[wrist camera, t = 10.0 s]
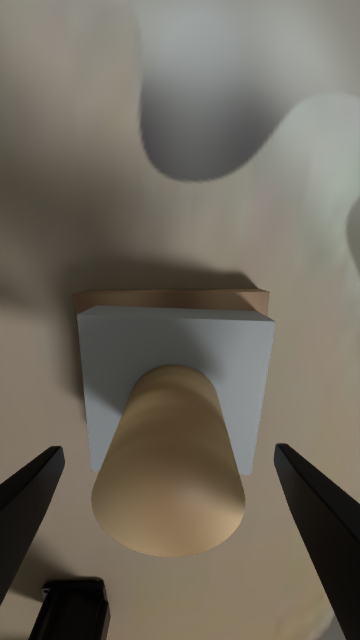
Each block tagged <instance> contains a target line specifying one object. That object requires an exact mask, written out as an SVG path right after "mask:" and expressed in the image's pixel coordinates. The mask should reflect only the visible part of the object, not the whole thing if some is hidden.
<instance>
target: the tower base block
mask: <svg viewBox="0 0 360 640" xmlns="http://www.w3.org/2000/svg"><path fill="white" fill-rule="evenodd" d="M73 301H74V308H75V315H76V322H77V329H78V321H77V314H79V313H81V312H84V311H86V310H88V309H90V308H92V307H94V306H96V305H99V306H127V307H155V308H183V309H211V310H239V311H258V312H260V313H262V314H263V315H265V316H267V312H268V302H269V291H265V290H262V289H190V290H109V291H83V292H79V293H75V294H73ZM78 336H79V332H78Z"/></svg>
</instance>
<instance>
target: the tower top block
mask: <svg viewBox="0 0 360 640" xmlns="http://www.w3.org/2000/svg"><path fill="white" fill-rule="evenodd" d="M77 321H78V332H79V343H80V354H81V364H82V375H83V386H84V397H85V408H86V419H87V429H88V440H89V451H90V462H91V471H100V469H101V466H102V464H103V461H104V459H105V456H106V454H107V451H108V449H109V446H110V444H111V441H112V439H113V436H114V434H115V431H116V429H117V426H118V424H119V421H120V419H121V416H122V414H123V411H124V409H125V406H126V404H127V401H128V398H129V396H130V393H131V391H132V389H133V387H134V385H135V383H136V382H137V381H138V379H139V378H140V377H141V376H142V375H144V374H145V373H146V372H148V371H150V370H152V369H154V368H156V367H159V366H164V365H183V366H187V367H191V368H193V369H195V370H197V371H199V372H201V373H202V374H203V375H205V376H206V377H207V378H208V379H209V380H210V381H211V383H212V384H213V386H214V387H215V389H216V392H217V395H218V399H219V402H220V406H221V410H222V413H223V417H224V421H225V424H226V428H227V431H228V435H229V439H230V442H231V446H232V450H233V453H234V457H235V461H236V464H237V468H238V472H239V474H245V475H251V472H252V465H253V459H254V453H255V447H256V441H257V435H258V428H259V422H260V416H261V410H262V404H263V398H264V391H265V385H266V379H267V373H268V367H269V361H270V354H271V348H272V342H273V336H274V330H275V323H276V321H274V320H272V319H270V318H269V317H267V316H265V315H263V314H262V313H260V312H258V311H239V310H211V309H183V308H155V307H127V306H99V305H96V306H94V307H92V308H90V309H88V310H86V311H84V312H81V313H79V314H77Z"/></svg>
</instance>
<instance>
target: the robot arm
mask: <svg viewBox="0 0 360 640" xmlns="http://www.w3.org/2000/svg"><path fill="white" fill-rule="evenodd" d="M274 465H275V468H276V471H277V474H278V477H279V480H280V483H281V486H282V488H283V491H284V494H285V497H286V500H287V503H288V506H289V509H290V511H291V514H292V516H293V518H294V521H295V523H296V525H297V528H298V530H299V532H300V535H301V537H302V539H303V541H304V544H305V546H306V548H307V551H308V553H309V555H310V558H311V560H312V562H313V564H314V567H315V569H316V571H317V574H318V576H319V578H320V581H321V583H322V585H323V587H324V590H325V592H326V594H327V597H328V599H329V601H330V604H331V606H332V608H333V610H334V613H335V615H336V617H337V620H338V622H339V624H340V626H341V629H342V631H343V633H344V636H345V638H346V640H360V504H359V503H358V502H357V501H356V500H354V499H353V498H352V497H351V496H350V495H348V494H347V493H346V492H345V491H343V490H342V489H341V488H340V487H339V486H337V485H336V484H335V483H334V482H333V481H331V480H330V479H329V478H328V477H327V476H325V475H324V474H323V473H322V472H320V471H319V470H318V469H317V468H316V467H314V466H313V465H312V464H311V463H310V462H308V461H307V460H306V459H305V458H303V457H302V456H301V455H300V454H299V453H297V452H296V451H295V450H294V449H293V448H291V447H290V446H289V445H288V444H285V443H278V444H276V446H275V453H274ZM64 466H65V459H64V453H63V448H62V447H61V446H51V447H49V448H48V449H47V450H45V451H44V452H43V453H41V454H40V455H39V456H37V457H36V458H35V459H33V460H32V461H31V462H29V463H28V464H27V465H25V466H24V467H23V468H21V469H20V470H19V471H17V472H16V473H15V474H13V475H12V476H11V477H9V478H8V479H7V480H5V481H4V482H3V483H1V484H0V606H1V604H2V602H3V600H4V598H5V595H6V593H7V591H8V589H9V587H10V585H11V583H12V581H13V579H14V577H15V575H16V573H17V571H18V569H19V567H20V565H21V563H22V561H23V559H24V557H25V555H26V553H27V551H28V549H29V547H30V545H31V542H32V540H33V538H34V536H35V534H36V532H37V530H38V528H39V526H40V524H41V522H42V520H43V518H44V516H45V514H46V511H47V509H48V507H49V504H50V502H51V499H52V497H53V494H54V492H55V489H56V487H57V484H58V482H59V479H60V476H61V474H62V471H63V469H64ZM41 593H42V597H43V600H44V602H43V604H42V607H41V609H40V612H39V614H38V617H37V619H36V622H35V624H34V627H33V629H32V631H31V634H30V636H29V639H28V640H106V638H107V633H108V627H109V622H110V617H111V616H110V609H109V603H108V601H107V597H106V591H105V585H104V583H102V582H69V583H45V584H44V585H43V587H42V590H41Z"/></svg>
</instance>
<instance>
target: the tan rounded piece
mask: <svg viewBox="0 0 360 640" xmlns="http://www.w3.org/2000/svg"><path fill="white" fill-rule="evenodd" d="M91 500H92V508H93V512H94V515H95V517H96V519H97V521H98V523H99V524H100V526H101V527H102V528H103V530H104V531H105V532H106V533H107V534H108V535H109V536H110V537H112V538H113V539H114V540H116V541H117V542H118V543H120V544H122V545H124V546H125V547H127V548H130V549H132V550H134V551H137V552H140V553H143V554H148V555H152V556H160V557H181V556H189V555H193V554H198V553H201V552H204V551H206V550H209V549H211V548H213V547H215V546H217V545H219V544H220V543H222V542H223V541H224V540H226V539H227V538H228V537H229V536H230V535H231V534H232V533H233V532H234V531H235V530H236V528H237V527H238V526H239V524H240V522H241V520H242V517H243V515H244V510H245V495H244V490H243V486H242V483H241V479H240V475H239V472H238V468H237V464H236V461H235V457H234V453H233V450H232V446H231V442H230V439H229V435H228V431H227V428H226V424H225V421H224V417H223V413H222V410H221V406H220V402H219V399H218V395H217V392H216V389H215V387H214V386H213V384H212V383H211V381H210V380H209V379H208V378H207V377H206V376H205V375H203V374H202V373H201V372H199V371H197V370H195V369H193V368H191V367H187V366H183V365H164V366H159V367H156V368H154V369H152V370H150V371H148V372H146V373H145V374H144V375H142V376H141V377H140V378H139V379H138V381H137V382H136V383H135V385H134V387H133V389H132V391H131V393H130V396H129V398H128V401H127V404H126V406H125V409H124V411H123V414H122V416H121V419H120V421H119V424H118V426H117V429H116V431H115V434H114V436H113V439H112V441H111V444H110V446H109V449H108V451H107V454H106V456H105V459H104V461H103V464H102V466H101V469H100V471H99V474H98V476H97V479H96V481H95V484H94V487H93V491H92V499H91Z"/></svg>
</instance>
